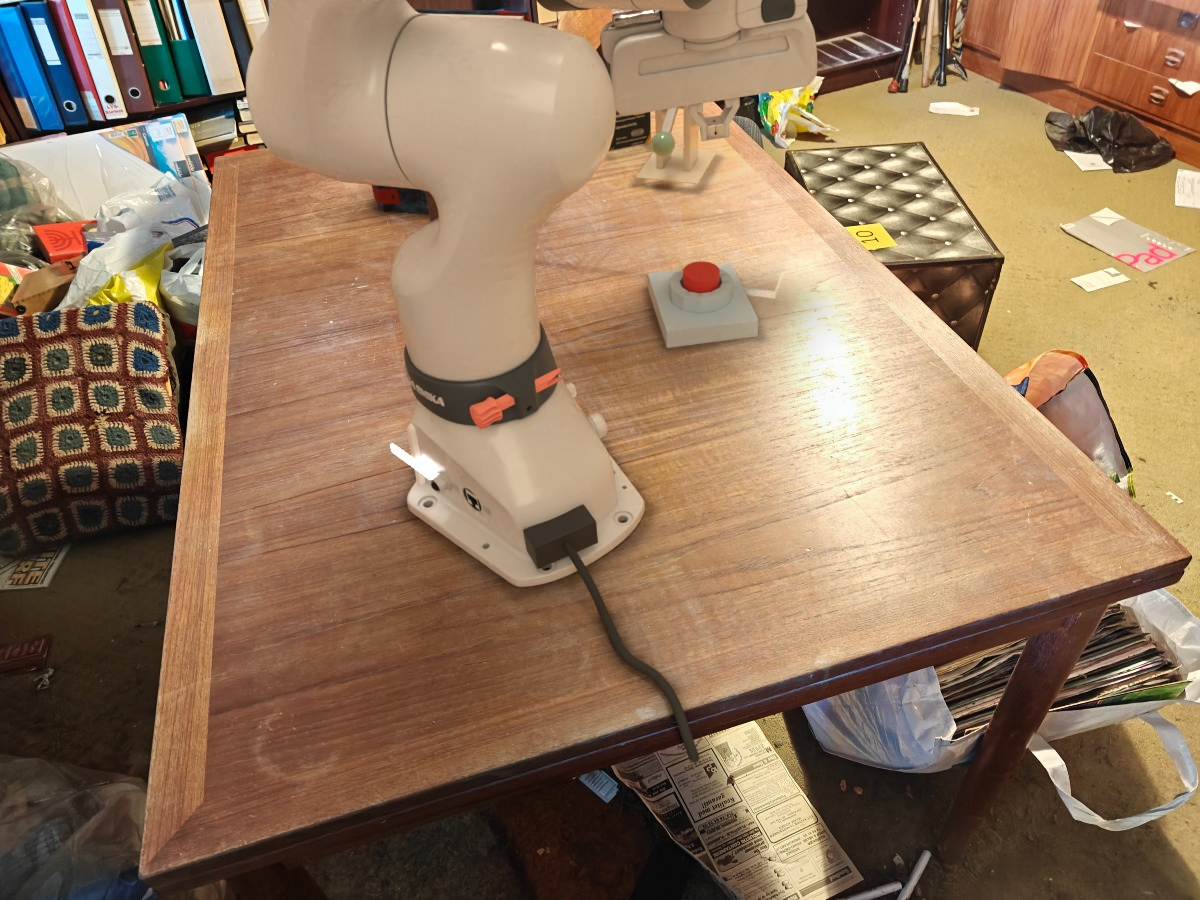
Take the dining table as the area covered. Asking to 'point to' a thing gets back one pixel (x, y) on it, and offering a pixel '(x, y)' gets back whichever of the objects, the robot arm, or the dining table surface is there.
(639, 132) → the medicine bottle
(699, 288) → the button
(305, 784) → the dining table surface
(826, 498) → the dining table surface
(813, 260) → the dining table surface
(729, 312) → the control block
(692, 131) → the ball knob lever stand
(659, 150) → the green knob lever
